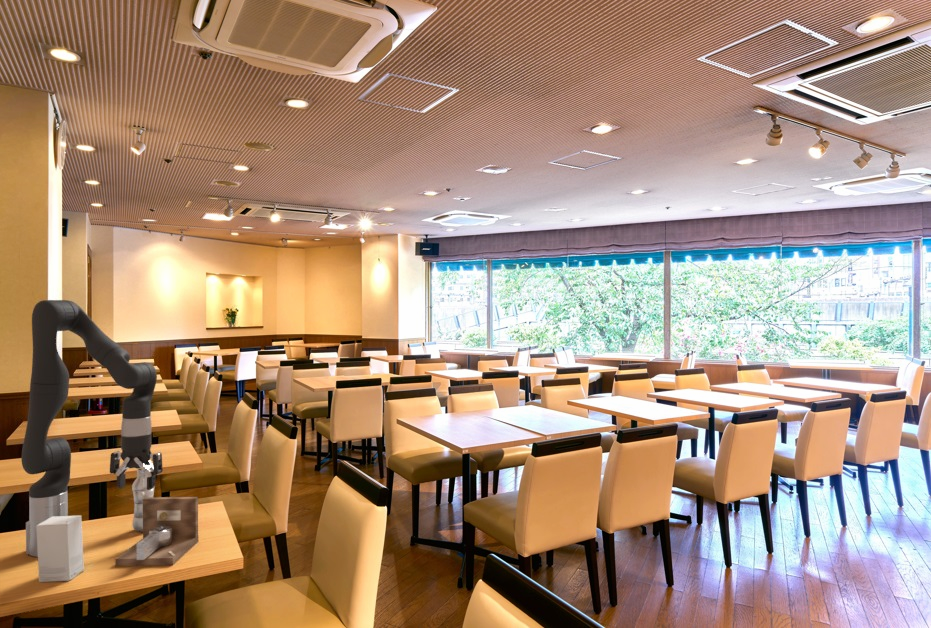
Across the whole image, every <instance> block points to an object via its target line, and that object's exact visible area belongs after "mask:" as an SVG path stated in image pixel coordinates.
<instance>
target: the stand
mask: <svg viewBox="0 0 931 628" xmlns="http://www.w3.org/2000/svg"><path fill="white" fill-rule="evenodd" d="M161 525H164V526H170V527H172V543H171V544H169V545H167V546H163V547H159V548H158V549H157V550H155V551H154V552H153V553H152V554H150V555H149V556H148V557H147V558H146V559H144V560H137V543H138V542H140V541H141V540H142V539H144V538H145V537H146V536H148V535H149V531H150V530H151V529H153V528H156V527H157V526H161ZM198 542H199V497H198V496H176V497H175V496H174V497H173V496H171V497H170V496H165V497H160V496H157V497H154V496H153V497H148V498H144V499H143V531H142V538H141V539H140V540H139V541H137V542H136V543H135V544H133V545H132V546H131V547H129V548H128V549H126V550H125V551H124V552H123V553H121V554H120V555H118V556H117V557H116V558H115V559H114V560H115V562H114V563H115V565H114V566H115V567H127V566H128V567H129V566H131V567H132V566H134V567H135V566H136V567H137V566H141V567H142V566H144V567H145V566H174V565H175V564H177V562H178V561H180V559H181V558H182V557H184V556H185V555H186V554H187V553H188V552H189V551H190V550H191V549H192V548H193V547H194V546H195V545H196V544H198ZM188 550H189V551H188ZM185 553H186V554H185ZM184 554H185V555H184ZM173 564H174V565H173Z"/></svg>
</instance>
